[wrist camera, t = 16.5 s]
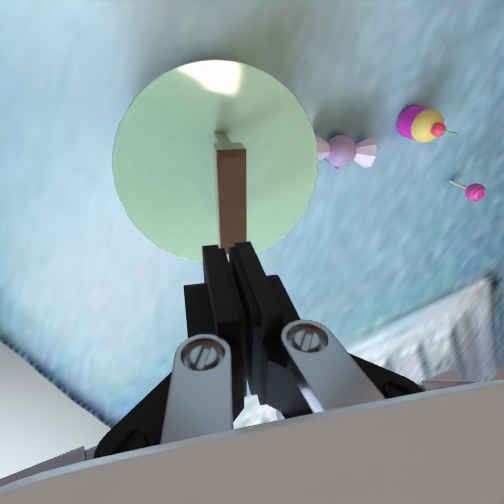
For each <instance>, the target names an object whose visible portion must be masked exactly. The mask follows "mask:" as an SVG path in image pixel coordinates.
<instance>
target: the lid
mask: <svg viewBox="0 0 504 504" xmlns="http://www.w3.org/2000/svg"><path fill="white" fill-rule="evenodd" d="M112 170H113V178H114V184H115V187H116V191H117V195H118V197H119V199H120V202H121V204H122V207H123V208H124V210H125V212H126V213H127V215H128V217H129V219H130V220H131V221H132V222H133V224H134V225H135V226H136V228H137V229H138V230H139V231H140V232H141V233H142V234H143V235H144V236H145V237H146V238H147V239H149V240H150V241H151V242H153V243H154V244H155V245H157V246H158V247H160V248H162V249H163V250H165V251H167V252H169V253H171V254H173V255H176V256H178V257H181V258H184V259H187V260H192V261H197V262H203V256H202V246H206V245H217V244H218V246H219V248H225V251H226V254H227V258H228V261H229V247H234V243H237V242H247V241H250V242H251V243H252V246H253V248H254V250H255V252H256V254H258V253H260V252H262V251H264V250H266V249H268V248H269V247H271V246H272V245H274V244H275V243H277V242H278V241H279V240H280V239H282V238H283V237H284V236H285V235H286V234H287V233H288V232H289V231H290V230H291V229H292V228H293V227H294V226H295V224H296V223H297V222H298V220H299V219H300V218H301V216H302V215H303V213H304V211H305V209H306V208H307V206H308V204H309V201H310V199H311V197H312V194H313V191H314V187H315V184H316V179H317V173H318V148H317V142H316V137H315V133H314V130H313V127H312V124H311V122H310V119H309V117H308V115H307V113H306V111H305V110H304V108H303V106H302V105H301V103H300V102H299V101H298V99H297V98H296V96H295V95H294V94H293V93H292V92H291V91H290V90H289V89H288V88H287V87H286V86H285V85H284V84H283V83H281V82H280V81H279V80H277V79H276V78H275V77H274V76H272V75H270V74H268V73H267V72H265V71H263V70H261V69H259V68H256V67H254V66H251V65H249V64H246V63H241V62H237V61H233V60H223V59H208V60H198V61H194V62H189V63H185V64H183V65H180V66H177V67H175V68H172V69H170V70H168V71H167V72H165V73H163V74H161V75H160V76H158V77H157V78H155V79H154V80H153V81H152V82H150V83H149V84H148V85H147V86H145V87H144V88H143V90H142V91H141V92H140V93H139V94H138V95H137V96H136V97H135V98H134V100H133V101H132V103H131V104H130V106H129V107H128V109H127V110H126V112H125V114H124V116H123V118H122V120H121V122H120V124H119V127H118V130H117V133H116V136H115V140H114V147H113V153H112Z"/></svg>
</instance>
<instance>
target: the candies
mask: <svg viewBox="0 0 504 504" xmlns="http://www.w3.org/2000/svg"><path fill="white" fill-rule="evenodd" d="M397 126H398V131H399V133H400V134H401V135H402V136H404V137H407V138H409V139H412V140H415V141H417V142H421V143H426V142H430V141H432V140H434V139H436V138H437V137H439V136H441V135H443V134H444V133H450V134H454V135H458V133H454V132H449V131H446V127H445V125H444V119H443V117H442V115H441V114H440V113H439V112H438V111H436V110H434V109H429V108H425V107H420V106H411V107H409V108H407V109H406V110H405V111H403V113H402V114H401V115H400V118H399V120H398V125H397ZM315 137H316V142H317V148H318V161H320V160H322V159H324V158H326V160H327V161H328V162H329V163H330V164H331V165H333V166H334V167H335V168H336V169H337V168H340V167H344V166H346V165H348V164H350V163H351V162H352V161H353V160H354V161H356V162H357V163H359V164H360V165H361V166H363V167H364V168H365V167H370V166H371V165H372V163H373V161H374V159H375V157H376V147H377V144H376V142H375V140H374V139H373V137H371V138H368V139H365V140H363V141H361V142H359V143H357V144H355V142H354V141H353V139H352V138H350V137H349V136H346V135H337V136H334V137H333V138H331V139H330V140H329V141H328V142H326V141H325V140H323V139H322V138H320V137H319V136H317V135H316V134H315ZM450 182H451V183H453V184H455V185H457V186H459V187H461V188H463V189H465V196H466V198H468V200H470V201H478V200H481V199H483V198H484V197H485V194H486V190H485V187H484V186H483V185H481V184H476V183H475V184H472V185H470V186H468V187H466V186H464V185H462V184H460V183H458V182H455V181H453V180H450Z"/></svg>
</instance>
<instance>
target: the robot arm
mask: <svg viewBox="0 0 504 504" xmlns="http://www.w3.org/2000/svg"><path fill="white" fill-rule="evenodd" d="M202 256H203V270H204V283H201V284H193V285H184V297H185V308H186V320H187V332H188V339H186V340H185V341H183V342H182V343H181V344H180V345H179V347H178V348H177V350H176V353H175V357H174V363H173V369H172V372H171V373H170V374H169V375H168V376H167V377H166V378H165V379H164V380H163V381H162V382H160V383H159V384H158V385H157V386H156V387H155V388H154V389H153V390H152V391H151V392H150V393H149V394H148V395H147V396H146V397H145V398H144V399H143V400H141V401H140V402H139V403H138V404H137V405H136V406H135V407H134V408H133V409H132V410H131V411H130V412H129V413H128V414H127V415H126V416H125V417H124V418H122V419H121V420H120V421H119V422H118V423H117V424H116V425H115V426H114V427H113V428H112V429H111V430H110V431H109V432H108V433H107V434H106V435H105V436H104V437H103V439H102V440H101V441H100V442H99V444H98V445H97V446H95V447H92V448H90V449H87V450H85V448H84V446H82V447H80V448H77V449H75V450H72V451H70V452H67V453H65V454H62V455H60V456H57V457H55V458H53V459H50V460H47V461H45V462H42V463H40V464H37V465H35V466H32V467H30V468H27V469H24V470H22V471H19V472H17V473H14V474H12V475H9V476H7V477H5V478H2V479H0V504H504V380H496V381H488V382H443V381H421V383H420V385H417V384H416V383H415V382H413V381H411V380H410V379H408V378H406V377H404V376H401V375H399V374H397V373H394V372H392V371H390V370H387V369H385V368H382V367H380V366H378V365H375V364H373V363H371V362H368V361H366V360H364V359H361V358H359V357H356V356H354V355H352V354H349V353H348V352H347V351H346V350H345V348H344V347H343V346H342V345H341V343H340V342H339V341H338V340H337V339H336V337H335V336H334V335H333V334H332V332H331V331H330V330H329V329H328V328H326V327H325V326H324V325H322V324H320V323H318V322H315V321H312V320H301V319H300V317H299V315H298V313H297V311H296V309H295V307H294V306H293V304H292V302H291V300H290V298H289V296H288V294H287V292H286V290H285V288H284V286H283V284H282V282H281V280H280V278H279V276H278V275H269V276H266V275H265V272H264V270H263V268H262V266H261V263H260V261H259V259H258V257H257V255H256V252H255V250H254V248H253V246H252V243H251V242H250V241H247V242H237V243H234V247H229V261H228V258H227V254H226V251H225V248H219V246H218V244H217V245H206V246H202ZM247 381H248V385H249V389H250V393H251V395H256V394H257V395H258V399H259V403H260V405H264V404H267V405H269V406H271V407H273V408H275V409H276V415H277V418H278V421H273V422H268V423H263V424H258V425H253V426H248V427H243V428H238V429H233V422H234V421H235V419H236V418H237V417H238V415H239V414H240V413H241V411H242V410H243V409H244V397H245V396H246V395H247Z"/></svg>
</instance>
